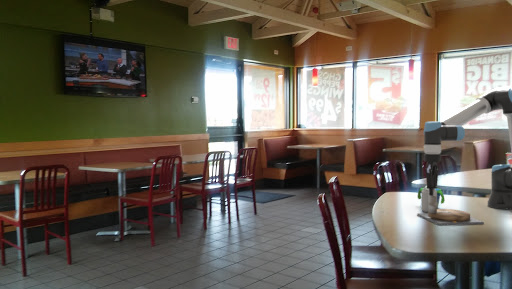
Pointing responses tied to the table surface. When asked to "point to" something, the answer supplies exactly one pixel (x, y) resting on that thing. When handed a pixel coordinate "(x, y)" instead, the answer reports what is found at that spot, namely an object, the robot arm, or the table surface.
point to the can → (425, 199)
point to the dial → (445, 212)
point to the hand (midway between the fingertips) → (431, 201)
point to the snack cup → (437, 195)
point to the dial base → (443, 222)
